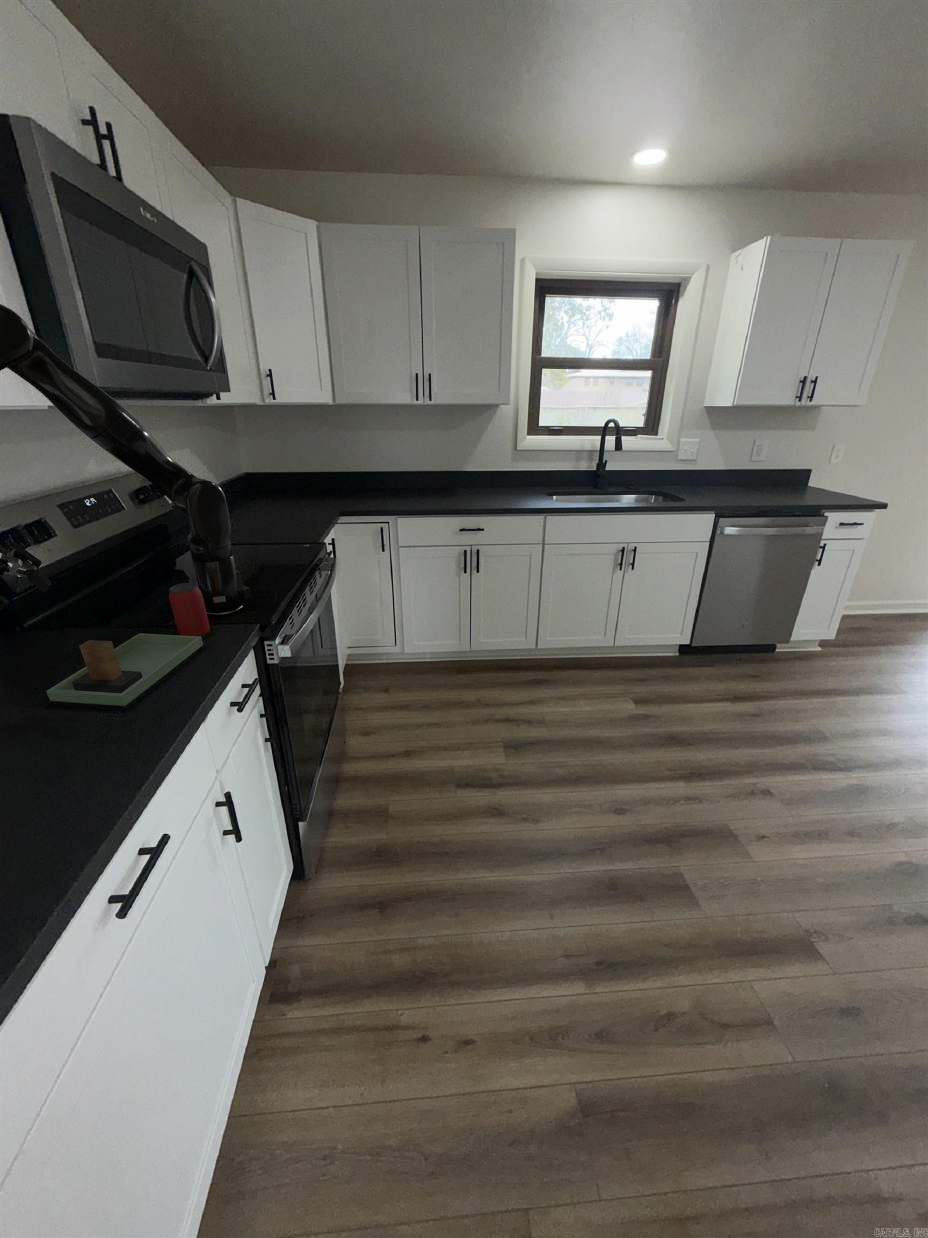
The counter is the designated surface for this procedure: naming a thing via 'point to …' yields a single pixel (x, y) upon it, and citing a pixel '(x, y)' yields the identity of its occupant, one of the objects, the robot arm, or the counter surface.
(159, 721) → the counter surface
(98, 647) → the eraser
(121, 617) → the counter surface
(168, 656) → the tray
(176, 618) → the beer can
